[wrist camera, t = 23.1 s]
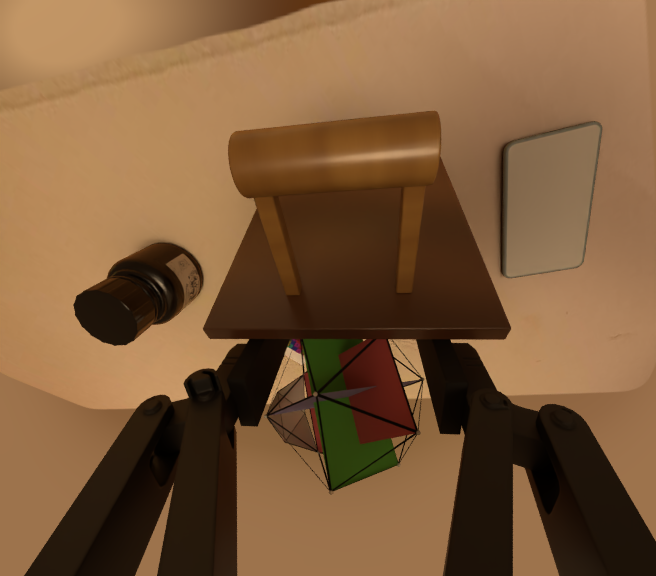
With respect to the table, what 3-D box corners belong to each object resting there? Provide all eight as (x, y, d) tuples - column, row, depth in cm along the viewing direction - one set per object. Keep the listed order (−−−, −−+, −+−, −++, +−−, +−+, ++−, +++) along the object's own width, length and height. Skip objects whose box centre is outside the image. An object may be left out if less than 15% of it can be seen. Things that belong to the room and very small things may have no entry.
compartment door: (505, 339, 12) (624, 129, 6) (209, 339, 13) (89, 176, 8) (436, 159, 23) (455, 26, 17) (278, 172, 25) (250, 55, 19)
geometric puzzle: (384, 402, 8) (289, 562, 11) (493, 380, 12) (405, 500, 15) (284, 280, 13) (236, 409, 16) (385, 294, 18) (333, 394, 20)
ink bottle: (199, 311, 43) (144, 366, 33) (141, 289, 43) (66, 339, 32) (209, 253, 39) (150, 296, 28) (144, 228, 38) (59, 263, 28)
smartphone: (503, 280, 35) (505, 143, 29) (500, 276, 36) (501, 143, 29) (584, 267, 33) (605, 118, 27) (578, 264, 34) (598, 119, 28)
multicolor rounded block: (280, 340, 44) (275, 350, 42) (289, 328, 43) (285, 338, 41) (303, 354, 45) (300, 365, 43) (313, 342, 43) (310, 353, 41)
